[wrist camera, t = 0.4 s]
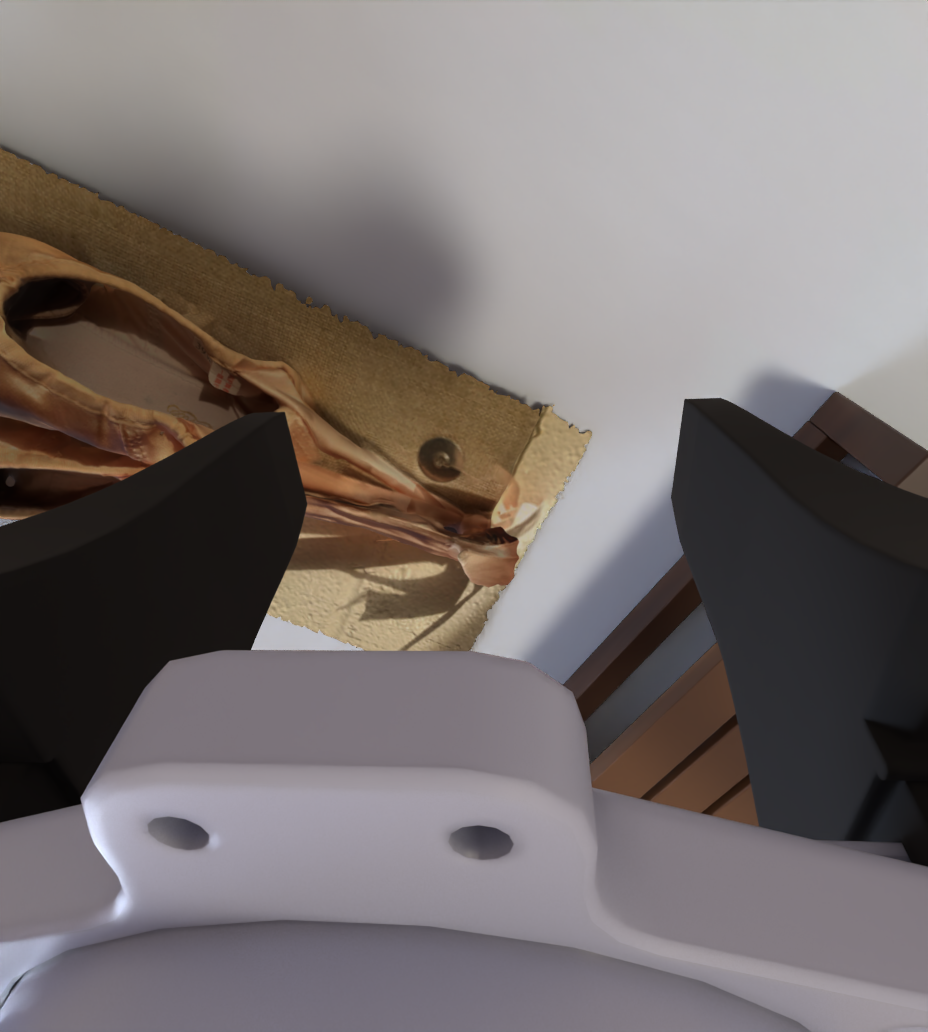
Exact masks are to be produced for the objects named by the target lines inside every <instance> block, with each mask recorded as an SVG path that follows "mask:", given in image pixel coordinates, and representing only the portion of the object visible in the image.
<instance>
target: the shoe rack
mask: <svg viewBox="0 0 928 1032" xmlns="http://www.w3.org/2000/svg"><path fill="white" fill-rule="evenodd" d="M792 438H794V439H796V440H798V441H799V442H801V443H803V444H805V445H807V446H809V447H810V448H812V449H814V450H816V451H818V452H820V453H822V454H824V455H826V456H828V457H830V458H832V459H834V460H836V461H838V462H840V461H841V460H842V459H843V458H844V457H845V456H846V455H847V454H848V453H849V454H851V455H852V456H853V457H854V458H856V459H857V460H858V461H859V462H861V463H862V464H863V465H864V466H865V467H867V468H868V469H869V470H870V471H872V472H873V473H874V474H875V475H876V476H878V477H879V478H880V479H881V480H883V481H884V482H886V483H888V484H891V485H893V486H896V487H898V488H901V489H903V490H906V491H909V492H911V493H914V494H917V495H920V496H923V497H926V498H928V451H927V450H926V449H924V448H923V447H921V446H920V445H918V444H917V443H915V442H914V441H912V440H911V439H909V438H908V437H906V436H905V435H903V434H902V433H900V432H898V431H897V430H895V429H894V428H892V427H891V426H889V425H888V424H886V423H885V422H883V421H882V420H880V419H879V418H877V417H876V416H874V415H872V414H871V413H869V412H868V411H866V410H865V409H863V408H862V407H860V406H859V405H857V404H856V403H854V402H853V401H851V400H850V399H848V398H847V397H845V396H843V395H842V394H840V393H839V392H835V393H834V394H833V395H832V396H831V397H830V398H829V399H828V400H827V401H826V402H825V403H824V404H823V405H822V406H821V408H820V409H819V410H818V411H817V412H816V413H815V414H814V415H813V416H812V417H811V418H810V421H807V422H806V423H805V424H804V426H803V427H802V428H801V429H800V430H799V431H798V432H797V433H796V434H795V435H794V436H793V437H792ZM701 602H702V599H701V597H700V594H699V591H698V589H697V586H696V583H695V581H694V578H693V576H692V573H691V570H690V567H689V565H688V562H687V559H686V557H685V554H684V555H683V556H682V557H681V558H680V559H679V561H678V562H677V563H676V564H675V565H674V566H673V567H672V568H671V569H670V570H669V571H668V572H667V573H666V575H665V576H664V577H663V578H662V579H661V580H660V581H659V582H658V583H657V584H656V585H655V586H654V588H653V589H652V590H651V591H650V592H649V593H648V594H647V595H646V596H645V597H644V598H643V599H642V600H641V602H640V603H639V604H638V605H637V606H636V607H635V608H634V609H633V610H632V611H631V612H630V613H629V615H628V616H627V617H626V618H625V619H624V620H623V621H622V622H621V623H620V624H619V625H618V626H617V627H616V629H615V630H614V631H613V632H612V633H611V634H610V635H609V636H608V637H607V638H606V639H605V640H604V642H603V643H602V644H601V645H600V646H599V647H598V648H597V649H596V650H595V651H594V652H593V653H592V654H591V656H590V657H589V658H588V659H587V660H586V661H585V662H584V663H583V664H582V665H581V666H580V667H579V669H578V670H577V671H576V672H575V673H574V674H573V675H572V676H571V677H570V678H569V679H568V680H567V681H566V683H565V684H564V685H563V686H564V687H566V688H567V689H569V690H570V691H572V692H573V694H574V697H575V700H576V703H577V705H578V708H579V711H580V713H581V716H582V719H583V722H584V721H585V720H586V719H587V718H588V717H589V716H590V715H591V714H592V713H593V712H594V711H595V710H596V709H597V708H598V707H599V706H600V705H601V704H602V703H603V702H604V701H605V700H606V699H607V698H608V697H609V696H610V695H611V694H612V693H613V692H614V691H615V690H616V689H617V688H618V687H619V686H620V685H621V684H622V683H623V682H624V681H625V680H626V679H627V678H628V677H629V676H630V675H631V673H632V672H633V671H634V670H635V669H636V668H637V667H638V666H639V665H640V664H641V663H642V662H643V661H644V660H645V659H646V658H647V657H648V656H649V655H650V654H651V653H652V652H653V651H654V650H655V649H656V648H657V647H658V646H659V645H660V644H661V643H662V642H663V641H664V640H665V639H666V638H667V637H668V636H669V635H670V634H671V633H672V632H673V631H674V630H675V629H676V628H677V627H678V626H679V625H680V624H681V623H682V622H683V621H684V620H685V619H686V618H687V617H688V616H689V614H690V613H691V612H692V611H693V610H694V609H695V608H696V607H697V606H698V605H699V604H700V603H701ZM590 774H591V784H592V788H596V789H600V790H605V791H609V792H613V793H617V794H622V795H626V796H630V797H634V798H639V799H643V800H647V801H651V802H656V803H660V804H664V805H668V806H673V807H677V808H681V809H685V810H690V811H694V812H698V813H702V814H707V815H711V816H715V817H719V818H723V819H728V820H732V821H736V822H740V823H745V824H749V825H753V826H757V827H759V823H758V818H757V813H756V808H755V803H754V798H753V793H752V787H751V782H750V777H749V772H748V767H747V762H746V757H745V753H744V748H743V744H742V739H741V734H740V730H739V725H738V721H737V716H736V712H735V707H734V703H733V699H732V695H731V691H730V687H729V682H728V678H727V674H726V670H725V666H724V662H723V658H722V655H721V652H720V649H719V646H718V643H717V642H716V643H715V644H714V645H713V646H712V647H711V648H710V649H709V650H708V651H707V652H706V653H705V654H704V655H703V656H702V657H701V658H700V659H699V660H698V661H697V662H696V663H695V664H693V665H692V666H691V667H690V668H689V669H688V670H687V671H686V672H685V673H684V674H683V675H682V676H681V677H680V678H679V679H678V680H677V681H676V682H675V683H674V684H673V685H672V686H671V687H670V688H669V689H668V690H667V691H666V692H665V693H663V694H662V695H661V696H660V697H659V698H658V699H657V700H656V701H655V702H654V703H653V704H652V705H651V706H650V707H649V708H648V709H647V710H646V711H645V712H644V713H643V714H642V715H641V716H640V717H639V718H638V719H637V720H636V721H634V722H633V723H632V724H631V725H630V726H629V727H628V728H627V729H626V730H625V731H624V732H623V733H622V734H621V735H620V736H619V737H618V738H617V739H616V740H615V741H614V742H613V743H612V744H611V745H610V746H609V747H608V748H607V749H605V750H604V751H603V752H602V753H601V754H600V755H599V756H598V757H597V758H596V759H595V760H594V761H593V762H592V763H591V764H590Z"/></svg>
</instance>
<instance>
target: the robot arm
mask: <svg viewBox="0 0 928 1032" xmlns="http://www.w3.org/2000/svg"><path fill="white" fill-rule="evenodd" d="M671 499H672V504H673V509H674V515H675V520H676V525H677V529H678V534H679V539H680V543H681V545H682V548H683V551H684V554H685V557H686V559H687V562H688V565H689V567H690V570H691V573H692V576H693V578H694V581H695V583H696V586H697V589H698V591H699V594H700V597H701V599H702V602H703V605H704V607H705V610H706V613H707V615H708V618H709V621H710V623H711V626H712V628H713V631H714V634H715V636H716V639H717V643H718V646H719V649H720V652H721V655H722V658H723V662H724V666H725V670H726V674H727V678H728V682H729V687H730V691H731V695H732V699H733V703H734V707H735V712H736V716H737V721H738V725H739V730H740V734H741V739H742V744H743V748H744V753H745V757H746V762H747V767H748V772H749V777H750V782H751V787H752V793H753V798H754V803H755V808H756V813H757V818H758V823H759V827H757V826H753V825H749V824H745V823H740V822H736V821H732V820H728V819H723V818H719V817H715V816H711V815H707V814H702V813H698V812H694V811H690V810H685V809H681V808H677V807H673V806H668V805H664V804H660V803H656V802H651V801H647V800H643V799H639V798H634V797H630V796H626V795H622V794H617V793H613V792H609V791H605V790H600V789H596V788H592V784H591V774H590V764H589V754H588V743H587V733H586V727H585V724H584V722H583V719H582V716H581V713H580V711H579V708H578V705H577V703H576V700H575V697H574V694H573V692H572V691H570V690H569V689H567V688H566V687H564V686H563V685H562V684H560V683H559V682H557V681H556V680H554V679H553V678H551V677H550V676H548V675H547V674H545V673H544V672H543V671H541V670H540V669H538V668H537V667H535V666H534V665H532V664H531V663H529V662H526V661H521V660H516V659H511V658H505V657H500V656H495V655H489V654H484V653H479V652H474V651H315V650H251V648H252V646H253V643H254V640H255V638H256V636H257V633H258V631H259V629H260V627H261V624H262V622H263V620H264V618H265V616H266V613H267V611H268V609H269V607H270V605H271V602H272V600H273V598H274V596H275V594H276V591H277V589H278V587H279V585H280V583H281V580H282V578H283V576H284V574H285V571H286V569H287V567H288V564H289V562H290V560H291V558H292V555H293V553H294V551H295V548H296V546H297V542H298V539H299V535H300V532H301V528H302V524H303V520H304V516H305V512H306V508H307V500H306V496H305V492H304V487H303V483H302V479H301V475H300V471H299V467H298V463H297V459H296V455H295V451H294V447H293V443H292V439H291V435H290V430H289V426H288V422H287V418H286V414H285V412H263V413H251V414H248V415H246V416H243V417H241V418H239V419H237V420H234V421H232V422H230V423H228V424H227V425H225V426H223V427H221V428H219V429H217V430H215V431H214V432H212V433H210V434H208V435H206V436H205V437H203V438H201V439H199V440H197V441H196V442H194V443H192V444H190V445H188V446H187V447H185V448H183V449H181V450H179V451H178V452H176V453H174V454H172V455H170V456H169V457H167V458H165V459H163V460H161V461H159V462H157V463H155V464H153V465H151V466H149V467H147V468H145V469H143V470H141V471H139V472H137V473H135V474H133V475H132V476H130V477H128V478H126V479H124V480H122V481H119V482H117V483H115V484H113V485H111V486H109V487H106V488H104V489H102V490H100V491H97V492H95V493H93V494H90V495H88V496H85V497H83V498H80V499H78V500H75V501H73V502H71V503H68V504H65V505H63V506H60V507H58V508H55V509H52V510H49V511H46V512H43V513H40V514H37V515H34V516H31V517H28V518H25V519H22V520H19V521H16V522H13V523H10V524H7V525H4V526H1V527H0V1032H928V498H926V497H923V496H920V495H917V494H914V493H911V492H909V491H906V490H903V489H901V488H898V487H896V486H893V485H891V484H888V483H886V482H883V481H881V480H878V479H876V478H873V477H871V476H868V475H866V474H864V473H861V472H859V471H857V470H855V469H852V468H850V467H848V466H846V465H844V464H842V463H840V462H838V461H836V460H834V459H832V458H830V457H828V456H826V455H824V454H822V453H820V452H818V451H816V450H814V449H812V448H810V447H809V446H807V445H805V444H803V443H801V442H799V441H798V440H796V439H794V438H792V437H790V436H789V435H787V434H785V433H783V432H782V431H780V430H778V429H777V428H775V427H773V426H771V425H770V424H768V423H766V422H765V421H763V420H761V419H759V418H758V417H756V416H754V415H753V414H751V413H749V412H748V411H746V410H744V409H742V408H740V407H739V406H737V405H735V404H733V403H731V402H729V401H727V400H724V399H722V398H710V399H685V400H684V407H683V415H682V422H681V429H680V437H679V444H678V451H677V459H676V466H675V473H674V481H673V488H672V495H671Z"/></svg>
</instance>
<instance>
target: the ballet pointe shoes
mask: <svg viewBox="0 0 928 1032" xmlns="http://www.w3.org/2000/svg"><path fill="white" fill-rule="evenodd" d="M98 193H99V192H98ZM98 193H93V192H91V191H90V192H89V191H88V190H87V189H86V188H85V187H83V188H79V184H72V183H69V182H68V180H66V179H64V178H61V179H58V177H57V175H56V174H54V173H50V174H46V171H44V170H43V169H42V168H41V166H38V165H35V164H33V165H32V164H30V162H29V161H27V160H24V159H18V158H16V156H15V154H11V153H9V152H8V151H4V150H3V149H1V148H0V518H1V519H11V520H22V519H25V518H28V517H31V516H34V515H37V514H40V513H43V512H46V511H49V510H52V509H55V508H58V507H60V506H63V505H65V504H68V503H71V502H73V501H75V500H78V499H80V498H83V497H85V496H88V495H90V494H93V493H95V492H97V491H100V490H102V489H104V488H106V487H109V486H111V485H113V484H115V483H117V482H119V481H122V480H124V479H126V478H128V477H130V476H132V475H133V474H135V473H137V472H139V471H141V470H143V469H145V468H147V467H149V466H151V465H153V464H155V463H157V462H159V461H161V460H163V459H165V458H167V457H169V456H170V455H172V454H174V453H176V452H178V451H179V450H181V449H183V448H185V447H187V446H188V445H190V444H192V443H194V442H196V441H197V440H199V439H201V438H203V437H205V436H206V435H208V434H210V433H212V432H214V431H215V430H217V429H219V428H221V427H223V426H225V425H227V424H228V423H230V422H232V421H234V420H237V419H239V418H241V417H243V416H246V415H248V414H251V413H263V412H285V414H286V418H287V422H288V426H289V430H290V435H291V439H292V443H293V447H294V451H295V455H296V459H297V463H298V467H299V471H300V475H301V479H302V483H303V487H304V492H305V496H306V500H307V508H306V512H305V516H304V520H303V524H302V528H301V532H300V535H299V539H298V542H297V546H296V548H295V551H294V553H293V555H292V558H291V560H290V562H289V564H288V567H287V569H286V571H285V574H284V576H283V578H282V580H281V583H280V585H279V587H278V589H277V591H276V594H275V596H274V598H273V600H272V602H271V605H270V607H269V609H268V611H267V613H268V614H269V615H270V616H273V617H275V618H278V617H281V620H283V621H287V622H288V620H290V622H291V623H292V624H294V625H299V626H301V627H303V626H305V627H307V628H308V629H310V630H312V631H314V632H316V633H318V631H319V629H320V631H321V632H322V633H323V634H324V635H326V636H329V637H333V638H335V639H337V640H339V641H341V642H343V643H347V642H348V643H350V644H351V645H352V646H356V648H357V647H360V648H363V650H364V651H469V650H470V649H471V647H472V646H473V645H474V642H476V640H475V638H477V636H478V635H479V634H480V633H481V632H482V629H483V627H484V625H485V624H483V623H484V622H485V621H487V620H488V619H487V611H488V610H489V609H491V608H492V605H493V604H495V602H497V601H498V599H499V594H498V592H500V591H499V590H501V591H502V590H504V589H505V588H506V586H505V585H508V584H509V583H510V582H511V580H512V579H513V578H514V571H515V568H517V565H518V564H519V563H520V561H521V559H522V558H523V556H524V552H526V551H527V546H528V545H530V544H531V543H532V542H533V540H534V537H535V534H536V530H537V528H539V529H541V525H540V523H542V522H544V519H545V518H547V516H548V512H547V511H550V509H551V507H553V506H554V504H555V503H557V499H556V498H555V496H556V495H557V494H558V492H559V491H564V485H565V484H564V482H568V481H567V479H566V477H567V476H571V474H570V473H571V472H572V471H575V469H576V466H577V465H578V464H579V460H580V459H581V458H582V457H583V453H584V452H585V451H586V449H585V448H584V445H585V444H588V443H589V440H590V438H591V436H592V432H591V431H587V432H586V433H584V434H581V433H579V429H577V428H575V425H573V426H572V427H571V428H569V426H568V422H565V421H563V420H561V419H560V418H559V417H558V416H557V415H556V414H554V413H551V412H552V410H553V408H552V407H553V406H554V405H553V406H552V407H551V406H548V407H545V406H544V405H543V407H542V409H541V411H540V409H536V410H532V409H531V408H530V407H529V406H528V405H527V404H521V403H520V402H519V400H514V399H510V395H508V396H504V395H498V394H496V393H497V391H496V393H494V391H493V390H489V387H490V386H489V385H487V384H484V383H483V382H481V381H477V380H476V379H475V378H474V377H472V376H470V375H467V374H465V373H463V374H461V375H460V376H458V377H457V374H456V372H455V371H449V368H448V367H447V366H445V365H443V364H442V363H440V362H439V361H433V362H432V361H429V360H428V359H427V357H428V355H424V356H423V355H422V354H421V352H420V351H419V350H415V349H414V348H413V347H406V348H403V346H402V344H401V345H400V346H398V341H396V340H390V339H387V337H386V335H381V334H378V337H377V338H376V339H374V338H373V336H372V333H373V332H372V333H371V332H370V330H369V329H368V327H367V326H362V325H361V324H360V323H359V322H358V321H355V322H353V321H349V319H348V317H347V316H345V315H344V317H343V322H341V323H340V321H339V320H338V316H337V314H336V315H335V316H332V314H331V310H330V307H329V306H328V305H325V304H324V306H323V307H322V308H321V309H320V308H318V307H316V306H315V307H314V308H313V309H312V307H311V306H309V307H308V308H307V306H306V304H311V303H312V302H313V300H312V298H311V297H308V298H307V299H306V303H305V304H301V301H299V300H297V298H296V293H295V292H293V291H292V290H290V291H288V290H287V289H284V287H283V284H280V283H278V284H276V288H275V291H274V289H273V288H272V286H271V280H270V279H269V278H268V277H266V276H263V277H257V276H256V275H254V274H253V275H252V276H251V275H250V274H248V273H247V272H246V271H247V270H248V268H240V267H238V263H236V264H230V262H229V261H228V260H227V258H226V257H225V256H222V255H219V256H218V257H217V255H216V253H215V252H214V251H213V250H210V249H206V250H204V249H203V248H202V247H201V246H200V245H199V244H198V245H196V244H195V243H194V242H189V241H188V239H187V238H182V237H181V236H180V235H173V233H172V231H167V229H166V228H161V229H160V226H159V224H156V223H153V222H150V221H148V219H146V218H143V217H142V216H139V217H138V216H137V215H136V214H135V213H130V212H128V211H127V210H126V209H125V208H124V206H118V207H116V205H115V204H114V203H113V202H110V201H105V200H100V199H99V198H98ZM539 411H540V412H539ZM563 481H564V482H563Z"/></svg>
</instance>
